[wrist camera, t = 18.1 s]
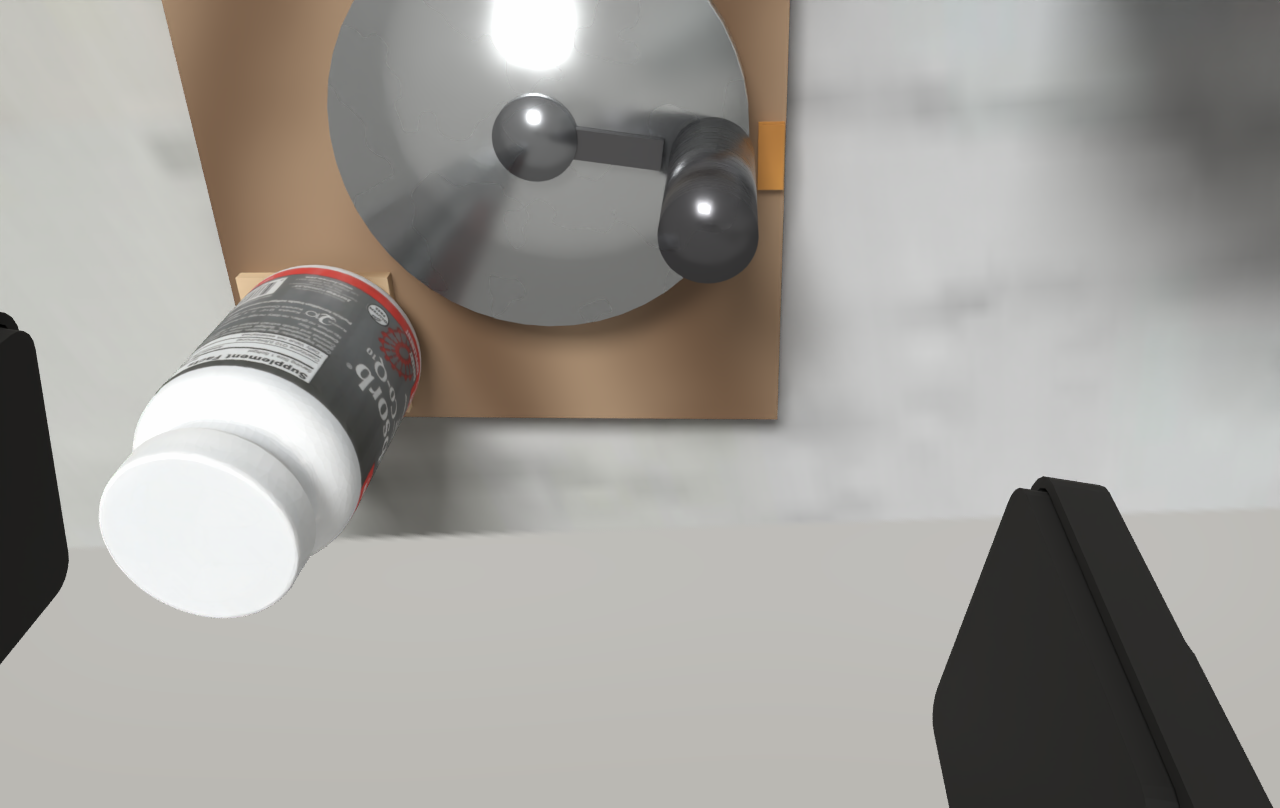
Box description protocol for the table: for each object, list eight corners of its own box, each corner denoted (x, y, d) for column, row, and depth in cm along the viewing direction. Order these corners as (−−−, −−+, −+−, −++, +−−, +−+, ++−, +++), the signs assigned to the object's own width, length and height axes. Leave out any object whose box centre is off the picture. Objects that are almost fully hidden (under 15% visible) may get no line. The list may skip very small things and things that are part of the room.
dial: (722, 335, 32) (720, 454, 27) (343, 284, 32) (263, 392, 27) (790, -68, 27) (806, -23, 21) (332, -129, 27) (229, -99, 21)
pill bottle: (425, 435, 35) (326, 653, 27) (248, 412, 35) (92, 623, 27) (426, 270, 32) (315, 454, 24) (233, 245, 32) (53, 421, 24)
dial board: (791, -139, 28) (794, -133, 26) (776, 400, 35) (777, 426, 34) (156, -117, 29) (127, -111, 28) (275, 397, 37) (257, 422, 35)
